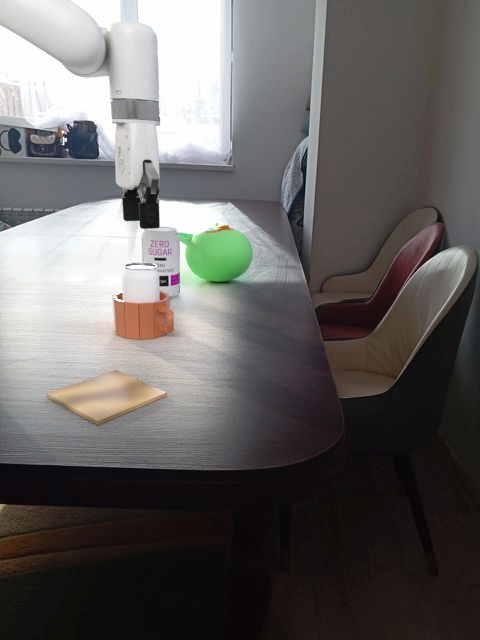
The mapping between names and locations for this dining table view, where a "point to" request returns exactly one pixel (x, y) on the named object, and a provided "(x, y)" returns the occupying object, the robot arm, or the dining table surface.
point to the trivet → (106, 396)
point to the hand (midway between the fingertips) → (140, 224)
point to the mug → (142, 317)
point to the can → (140, 283)
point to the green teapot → (217, 252)
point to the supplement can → (163, 257)
